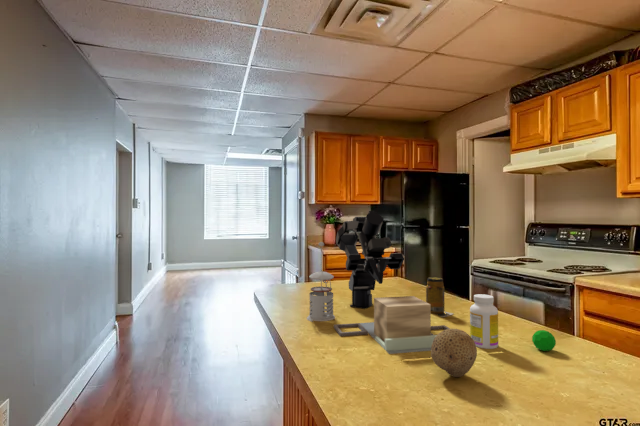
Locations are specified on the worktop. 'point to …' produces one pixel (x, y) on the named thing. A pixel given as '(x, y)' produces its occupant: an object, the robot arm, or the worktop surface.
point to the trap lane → (393, 343)
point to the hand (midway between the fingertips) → (381, 283)
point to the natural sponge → (454, 352)
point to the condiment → (436, 296)
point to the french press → (321, 297)
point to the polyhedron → (543, 340)
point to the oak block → (401, 317)
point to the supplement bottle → (484, 322)
